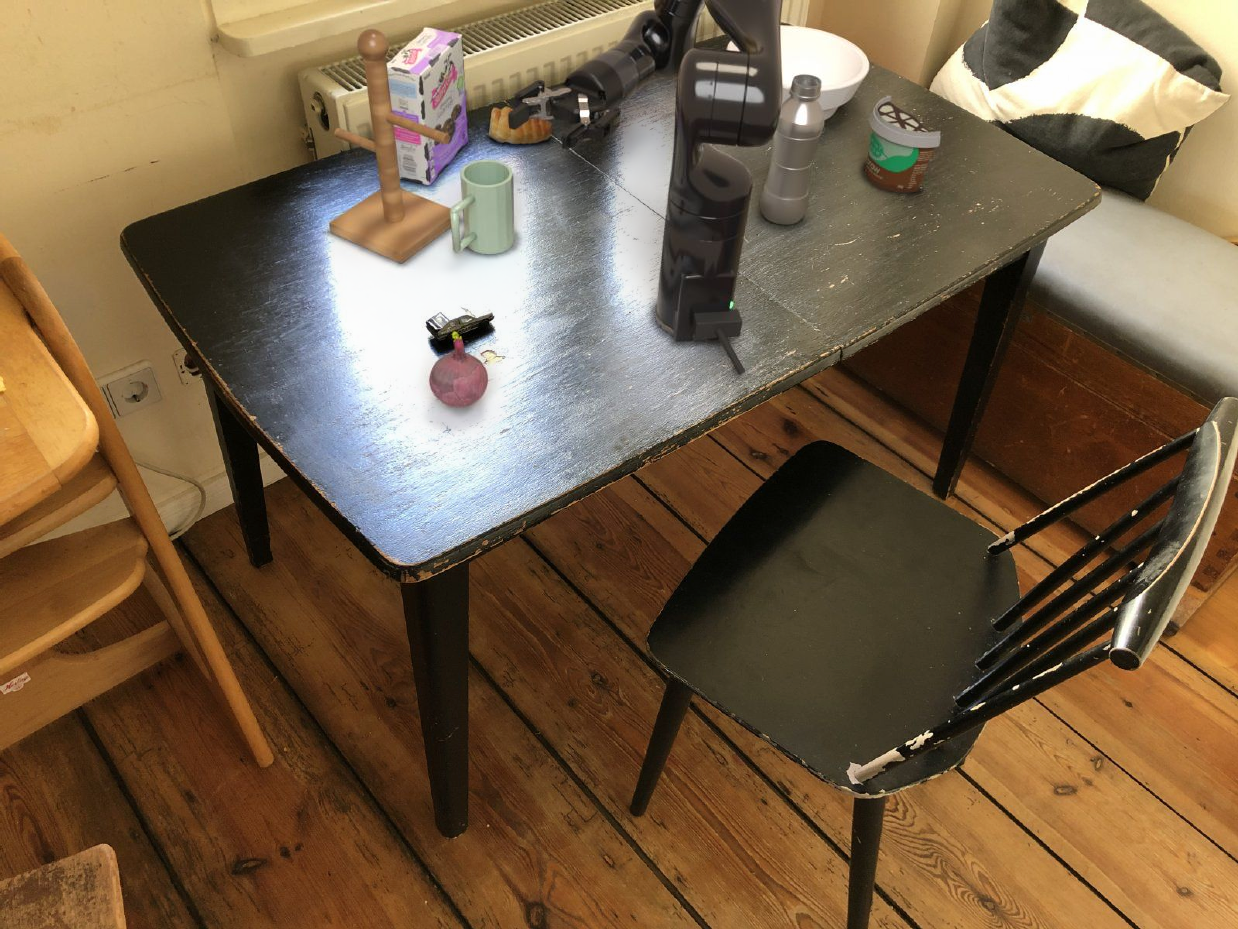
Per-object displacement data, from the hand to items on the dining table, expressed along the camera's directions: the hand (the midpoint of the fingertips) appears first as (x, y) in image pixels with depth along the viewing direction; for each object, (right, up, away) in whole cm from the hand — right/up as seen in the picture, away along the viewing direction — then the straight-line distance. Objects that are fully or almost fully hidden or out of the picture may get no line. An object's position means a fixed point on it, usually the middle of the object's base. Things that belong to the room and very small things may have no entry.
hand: (537, 132), depth 133 cm
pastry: (-5, +6, +20) cm, 22 cm away
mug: (-7, -15, -1) cm, 17 cm away
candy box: (-16, +1, +14) cm, 22 cm away
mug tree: (-19, -12, +2) cm, 23 cm away
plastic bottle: (+33, -9, +8) cm, 36 cm away
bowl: (+38, +15, +31) cm, 52 cm away
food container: (+50, -1, +17) cm, 53 cm away
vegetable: (-7, -37, -21) cm, 43 cm away
